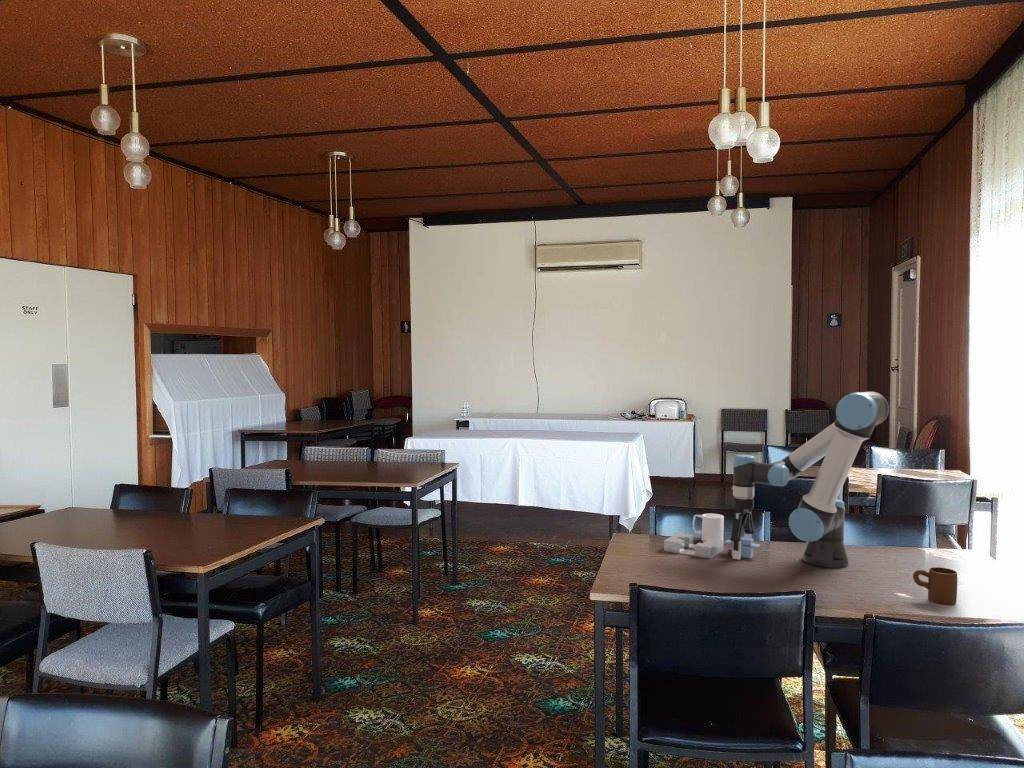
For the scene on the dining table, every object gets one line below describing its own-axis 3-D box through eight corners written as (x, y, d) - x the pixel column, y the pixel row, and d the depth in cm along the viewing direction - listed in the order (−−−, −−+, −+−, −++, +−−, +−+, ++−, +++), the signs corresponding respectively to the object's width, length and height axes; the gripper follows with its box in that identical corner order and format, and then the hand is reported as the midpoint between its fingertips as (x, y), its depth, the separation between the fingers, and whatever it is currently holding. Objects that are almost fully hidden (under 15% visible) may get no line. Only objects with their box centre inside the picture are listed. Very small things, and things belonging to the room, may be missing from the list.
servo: (760, 557, 274) (760, 539, 274) (757, 559, 271) (757, 541, 270) (727, 552, 280) (728, 534, 280) (724, 554, 277) (724, 536, 277)
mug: (915, 602, 225) (916, 571, 225) (908, 594, 232) (909, 564, 232) (960, 606, 222) (961, 575, 222) (952, 598, 229) (953, 568, 229)
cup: (691, 537, 303) (692, 512, 302) (722, 539, 300) (723, 514, 299) (692, 542, 295) (692, 516, 294) (723, 544, 292) (724, 518, 291)
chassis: (723, 550, 283) (723, 539, 282) (710, 558, 271) (711, 547, 271) (677, 543, 293) (678, 532, 292) (663, 550, 281) (664, 540, 281)
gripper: (743, 490, 287) (741, 546, 288) (722, 501, 267) (720, 560, 268) (763, 493, 283) (761, 549, 284) (743, 503, 262) (742, 564, 263)
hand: (741, 555), depth 276 cm, fingers open, 12 cm apart
